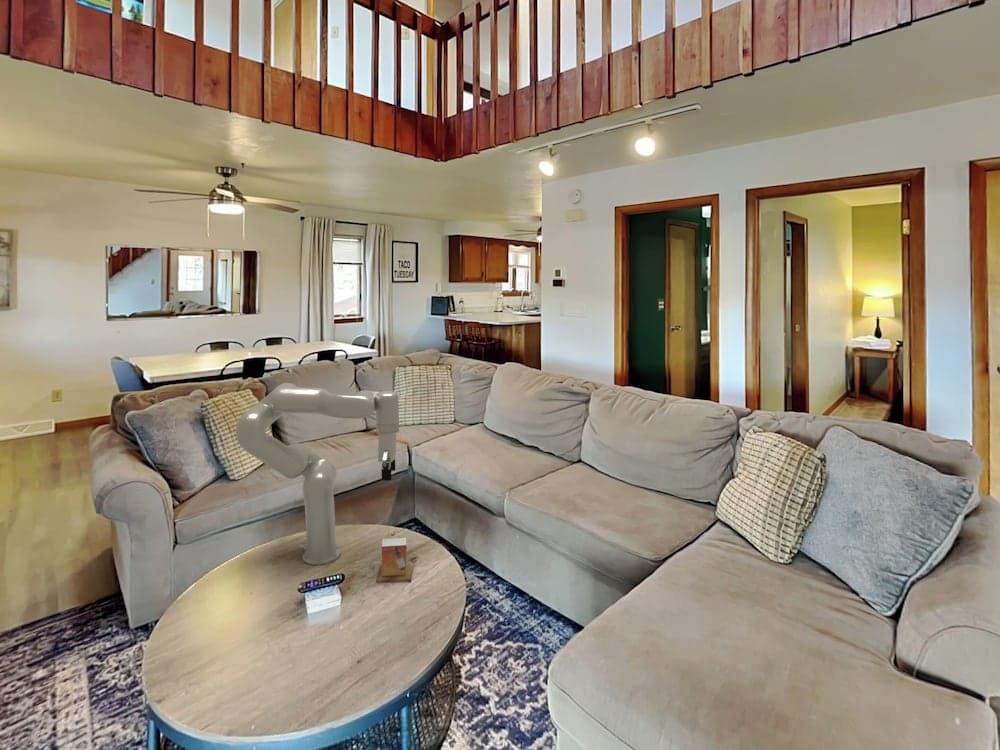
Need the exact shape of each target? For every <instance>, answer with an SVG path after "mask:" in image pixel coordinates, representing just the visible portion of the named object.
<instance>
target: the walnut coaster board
mask: <svg viewBox="0 0 1000 750" xmlns="http://www.w3.org/2000/svg"><path fill="white" fill-rule="evenodd" d="M414 567H415V566H414V564H407V575H396V576H383V577H382V564H381V565H380V566H379V569H378V572H377V575H376V578H375V583H378V584H381V583H382V584H383V583H385V584H386V583H388V584H389V583H411V581H412V578H413V572H414Z"/></svg>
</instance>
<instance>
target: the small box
mask: <svg viewBox="0 0 1000 750" xmlns="http://www.w3.org/2000/svg"><path fill="white" fill-rule="evenodd" d="M407 541H408V540H407V537H396V538H394V537H393V538H382V540H381V565H382V577H383V576H396V575H407V565H408V563H407V562H408V554H407V553H408V551H407V549H408V547H407V546H408V545H407Z"/></svg>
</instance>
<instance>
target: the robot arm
mask: <svg viewBox="0 0 1000 750" xmlns="http://www.w3.org/2000/svg"><path fill="white" fill-rule="evenodd" d="M373 412H375V420H376V422H375V424H376V425H375V426H376V433H377V434H378V452H377V453H378V460H377V461H378V463H381V481H385V482H386V481H392V471H396V459H395V457H396V453H397V433H399V431H400V423H399V422H400V418H399V417H400V416H399V415H400V414H399V412H400V409H399V394H398V393H397V392H396V391H393V390H385V391H383V390H382V391H376V390H366V389H364V390H360V391H358V392H357V393H355V395H342V394H334V393H332V392H329V391H327V390H326V389H324V388H321V387H298V386H297V385H296V384H294V383H291V382H283V383H281V384H279V385H277V386H276V387H274V388H273V390H271V392H270V393H269V394H267V395H266V396H265V397H263V398H262V399H261V400H260V401H258V402H257V403H256V404H254V405H253V406H252V407H250V408H249V409H248V410H247V411H245V412H244V413H243V414H242V415H241V416H240V418H239V419H238V422H237V424H236V428H235V435H236V436H235V437H236V439H237V442H238V444H239V446H240V447H241V448H242V449H243V450H244V452H246V453H248V454H249V455H251V456H252V457H254V458H256V459H257V460H259V461H260V462H261V463H263V464H265V465H266V466H268V467H269V468H271V469H272V470H274V471H275V472H277V473H278V474H280V475H281V476H283V477H285V478H287V479H291V480H292V479H297V478H299V477H301V476H302V477H304V479H303V483H302V495H303V501H304V502H303V503H304V513H305V514H304V515H305V533H306V534H305V535H306V539H304V538H303V539H301V541H300V543H299V546H298V547H299V549H304V552H303V554H302V561H303V562H304V563H305V564H308V565H315V566H316V565H317V566H318V565H319V566H321V565H325V564H329V563H330V564H331V563H332V562H334V561H336V560H338V558H339V557H340V556H341V553H342V551H341V548H340V547H339V546H337V541H336V540H337V538H336V537H337V535H336V515H335V513H336V512H335V497H334V483H335V480H336V477H337V469H336V467H335V465H334V464H333V463H332V462H331V461H329V460H328V459H327V458H326V457H324V456H322V455H321V454H319V453H318V452H316V451H315V450H313V449H312V448H310V447H309V446H307V445H305V444H303V443H291V444H289V445H286V443H284V442H282V441H281V440H279V439H278V438H277V437H275V436H274V437H273V436H271V435H269V434H267V432H266V430H267V429H269V427H270V426H271V425H272V424H274V423H275V422H276V421H277V420H278V419H280V418H281V417H282V416H283V415H284V414H313V415H316V414H317V415H322V416H326V417H333V418H338V419H360V420H361V419H366V418H368V417H370V416H371V415H372V414H373Z"/></svg>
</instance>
